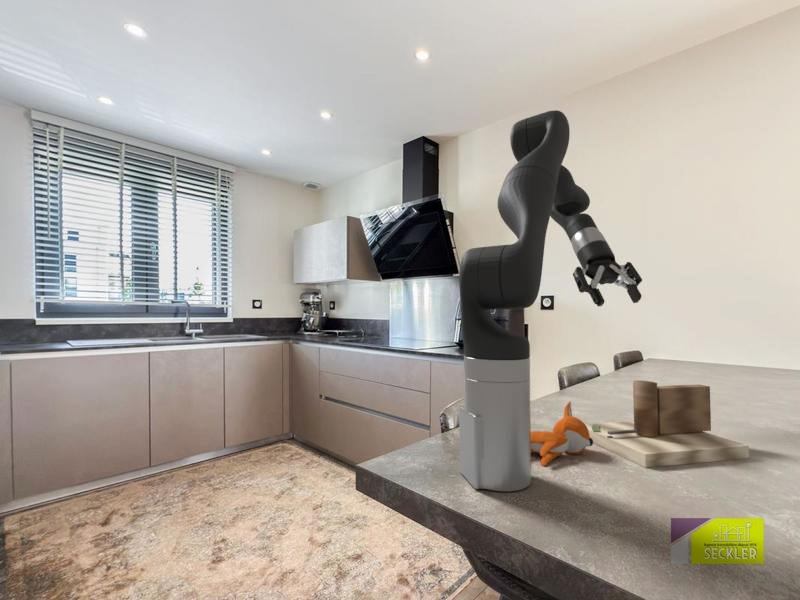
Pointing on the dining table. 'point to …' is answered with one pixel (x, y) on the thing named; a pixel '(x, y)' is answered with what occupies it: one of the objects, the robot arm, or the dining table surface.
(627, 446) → the light wood flat board
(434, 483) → the dining table surface
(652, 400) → the brown piece
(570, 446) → the toy
